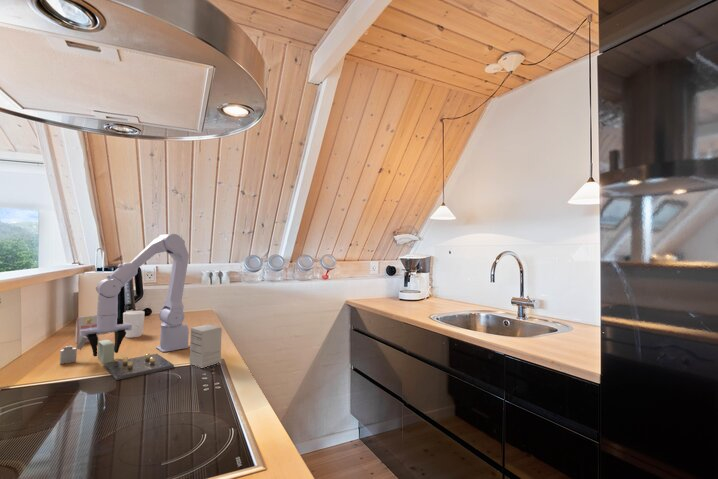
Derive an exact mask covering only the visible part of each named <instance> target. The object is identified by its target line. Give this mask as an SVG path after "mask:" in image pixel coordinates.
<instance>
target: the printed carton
mask: <svg viewBox="0 0 718 479" xmlns="http://www.w3.org/2000/svg"><path fill="white" fill-rule="evenodd" d="M94 327H97V315H87V316H78V317H76V322H75V336H74V337H75V338H74V342H75V343H76V345H78V343H79V341H80V340H81V338H82V337H81V336H80V330H82V329H89V328H94ZM96 335H97V337H98V338H99V334H96ZM85 337H87V336H85ZM85 343H90V342H89V340H88V339H87V341H86V342H85Z"/></svg>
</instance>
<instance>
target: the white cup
mask: <svg viewBox="0 0 718 479" xmlns="http://www.w3.org/2000/svg"><path fill="white" fill-rule="evenodd" d="M122 320H123V321H122V324H131V325H132V329H131V330H125V332H126V335H125V337H124V338H131V339H132V338H137V337H141V336H143V334H144V333H143V330H144V323H145V311H143V310H129V311H124V312H123V313H122Z"/></svg>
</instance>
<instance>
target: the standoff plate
mask: <svg viewBox="0 0 718 479" xmlns="http://www.w3.org/2000/svg"><path fill="white" fill-rule="evenodd" d="M103 367H104V369H106V371H107V372H109V373H110V375H111V376H112V377H113V378H115V380H116V381H119V380H123V379H129V378H133V377H139V376H143V375H147V374H151V373H157V372H161V371H165V370H166V369H167V370H171V369H174V368H175V365H174V364H173V363H172V362H170V361H169V360H168V359H166V358H164V357H163V356H162V355H161V354H159V353H153V354H152V353H151V354H150V353H145V354H144V355H142V356H137V357H131V358H129V357H123V358H122V359H119V360H114V361H113V362H108V363H104V364H103ZM170 368H171V369H170ZM167 370H166V371H167Z"/></svg>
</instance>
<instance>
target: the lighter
mask: <svg viewBox="0 0 718 479" xmlns="http://www.w3.org/2000/svg"><path fill="white" fill-rule="evenodd" d="M87 339H88V338H87V337H85V336H82V338H81V340H80V341H79V343H78V344H76V346H75V347H73V345H68V346H67V345H66V346H65V347H63V349H60V352H59V353H60V354H59V364H60V365H64V363H65V364H69V363H70V364H71V363H75V362H77V350H80V351H81V350H82V349H83V348H84V345H85V343H87V342H86V341H87Z"/></svg>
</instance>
